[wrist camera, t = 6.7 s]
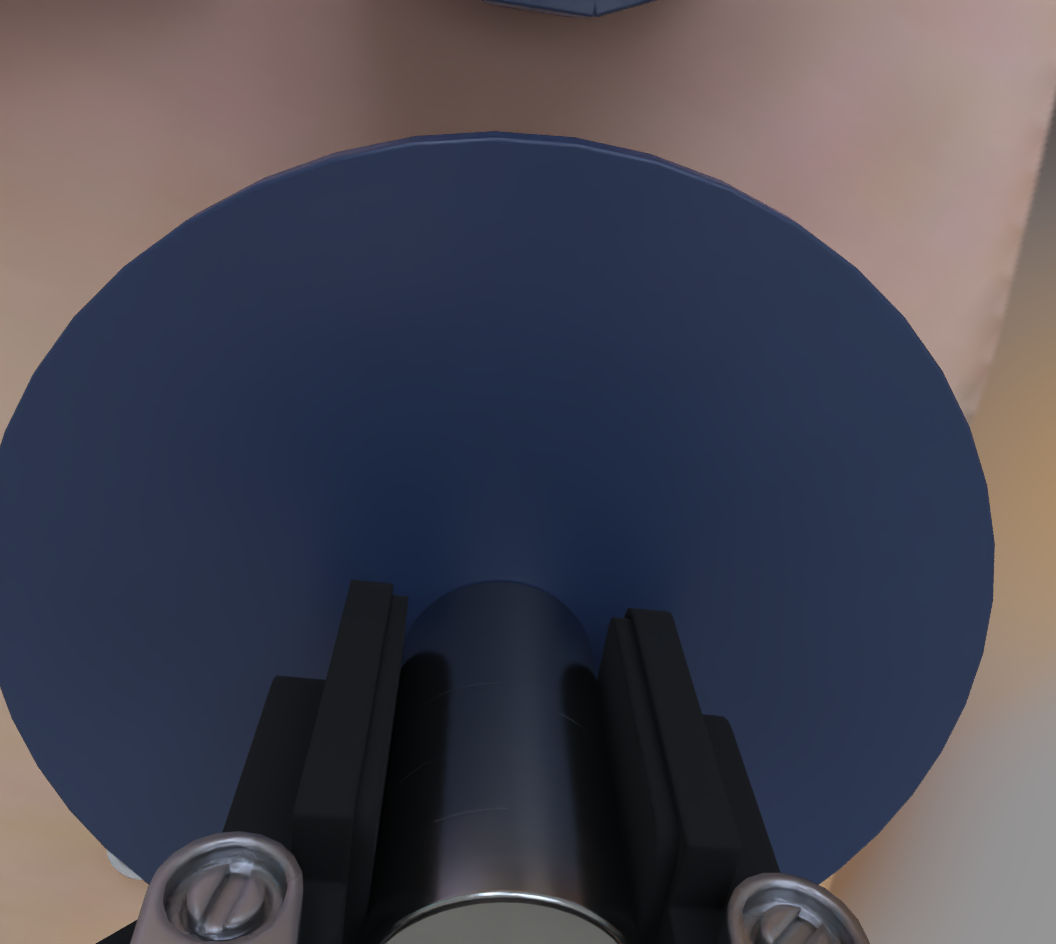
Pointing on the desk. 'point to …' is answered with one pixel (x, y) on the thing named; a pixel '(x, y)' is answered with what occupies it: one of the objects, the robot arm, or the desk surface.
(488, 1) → the pot
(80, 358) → the lid
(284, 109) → the desk surface
